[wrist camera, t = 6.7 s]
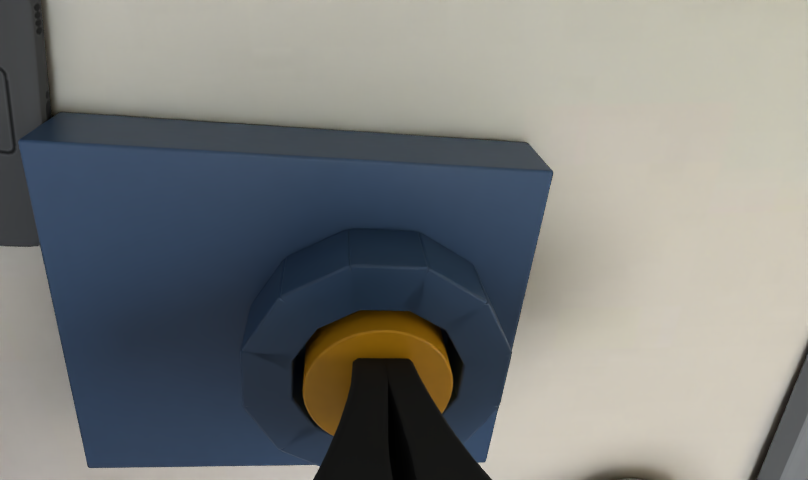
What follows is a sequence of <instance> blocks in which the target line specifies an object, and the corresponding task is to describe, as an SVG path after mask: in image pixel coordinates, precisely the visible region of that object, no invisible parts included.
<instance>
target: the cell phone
mask: <svg viewBox="0 0 808 480" xmlns="http://www.w3.org/2000/svg"><path fill="white" fill-rule="evenodd" d="M50 118H52V117H51V106H50V95H49V84H48V74H47V63H46V52H45V41H44V30H43V20H42V9H41V0H0V246H18V247H31V246H38V245H40V242H39V237H38V233H37V228H36V223H35V219H34V214H33V209H32V205H31V200H30V195H29V191H28V186H27V181H26V177H25V172H24V167H23V163H22V158H21V153H20V149H19V144H18V141H19V139H21V138H22V137H24V136H25V135H27V134H28V133H30V132H31V131H33V130H34V129H36V128H37V127H38V126H40V125H41V124H43V123H44V122H46V121H47V120H49V119H50Z"/></svg>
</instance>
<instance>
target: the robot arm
mask: <svg viewBox="0 0 808 480" xmlns="http://www.w3.org/2000/svg"><path fill="white" fill-rule="evenodd" d="M313 480H492V479H491V478H490V477H489V476H488V475H487V474H486V472H485V471H484V470H483V469H482V468H481V467H480V465H479V464H478V463H477V462H476V461H475V459H474V458H473V457H472V456H471V454H470V453H469V452H468V450H467V449H466V448H465V446H464V445H463V444H462V442H461V441H460V440H459V438H458V437H457V436H456V434H455V433H454V431H453V430H452V429H451V427H450V426H449V424H448V423H447V421H446V420H445V418H444V417H443V415H442V414H441V412H440V410H439V409H438V407H437V406H436V404H435V403H434V401H433V399H432V398H431V396H430V394H429V392H428V391H427V389H426V387H425V385H424V384H423V382H422V380H421V378H420V376H419V374H418V372H417V370H416V368H415V366H414V364H413V362H412V361H411V360H410V359H405V358H357V359H356V360H354V361H353V363H352V377H351V385H350V389H349V393H348V397H347V401H346V404H345V407H344V410H343V413H342V416H341V419H340V422H339V425H338V427H337V430H336V432H335V434H334V437H333V439H332V442H331V444H330V446H329V449H328V451H327V453H326V455H325V457H324V460H323V462H322V464H321V466H320V468H319V470H318V472H317V473H316V475H315V477H314V479H313Z"/></svg>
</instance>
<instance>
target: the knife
mask: <svg viewBox="0 0 808 480" xmlns="http://www.w3.org/2000/svg"><path fill="white" fill-rule="evenodd" d="M756 480H808V353H807V356H806V358H805V361H804V363H803V366H802V368H801V371H800V373H799V376H798V378H797V381H796V383H795V385H794V388H793V390H792V393H791V395H790V398H789V400H788V403H787V405H786V408H785V410H784V413H783V415H782V418H781V420H780V423H779V425H778V427H777V430H776V432H775V435H774V437H773V440H772V442H771V445H770V447H769V450H768V452H767V455H766V457H765V460H764V462H763V465H762V467H761V469H760V472H759V474H758V477H757V479H756Z"/></svg>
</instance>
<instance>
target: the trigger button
mask: <svg viewBox="0 0 808 480" xmlns="http://www.w3.org/2000/svg"><path fill="white" fill-rule="evenodd" d="M357 358H405V359H410V360H411V361H412V362H413V364H414V366H415V368H416V370H417V372H418V374H419V376H420V378H421V380H422V382H423V384H424V385H425V387H426V389H427V391H428V392H429V394H430V396H431V398H432V399H433V401H434V403H435V404H436V406H437V407H438V409H439V410H440V412H441V414H442V413H443V411H444V410H445V408H446V407H447V405H448V402H449V400H450V397H451V394H452V389H453V375H452V371H451V367H450V363H449V359H448V356H447V352H446V348H445V344H444V340H443V337H442V333H441V329H440V327H438V326H436V325H434V324H432V323H431V322H429V321H427V320H425V319H423V318H421V317H419V316H418V315H416V314H414V313H412V312H410V311H376V310H360V311H357V312H355V313H353V314H351V315H348V316H346V317H344V318H341V319H339V320H337V321H335V322H332V323H330V324H328V325H325V326H323V327H321V328H319V329H317V330H316V331H315V333H314V334H313V335H312V337H311V338H310V339H309V341H308V342H307V343H306V348H305V362H304V377H303V399H304V403H305V406H306V409H307V411H308V413H309V414H310V416H311V417H312V419H313V420H314V421H315V422H316V424H317V425H318V426H319V427H321V428H322V429H323V430H324V431H326V432H327V433H329V434H330V435H332V436H334V434H335V432H336V430H337V427H338V425H339V422H340V419H341V416H342V413H343V410H344V407H345V404H346V401H347V397H348V393H349V389H350V385H351V377H352V363H353V361H354V360H356V359H357Z"/></svg>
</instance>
